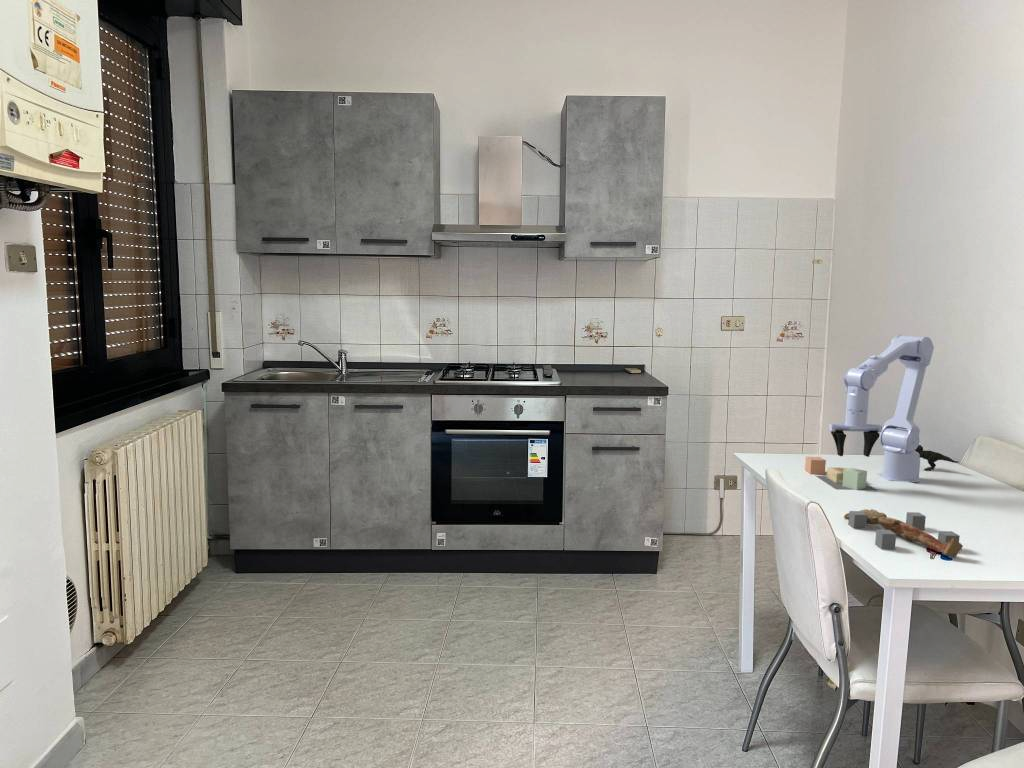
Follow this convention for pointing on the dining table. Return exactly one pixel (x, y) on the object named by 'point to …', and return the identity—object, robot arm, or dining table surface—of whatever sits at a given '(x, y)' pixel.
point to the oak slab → (835, 474)
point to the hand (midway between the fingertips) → (853, 455)
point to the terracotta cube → (815, 465)
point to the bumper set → (887, 537)
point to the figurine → (911, 532)
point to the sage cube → (854, 478)
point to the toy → (932, 457)
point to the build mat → (839, 485)
